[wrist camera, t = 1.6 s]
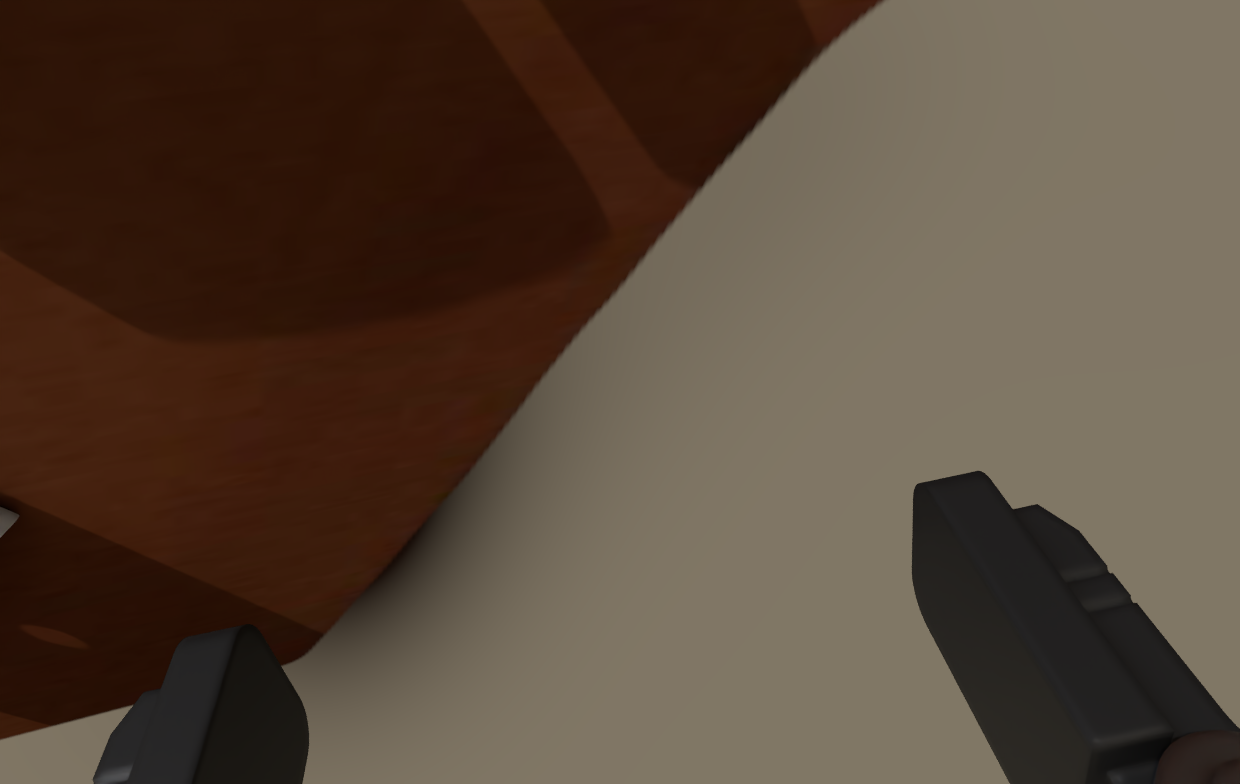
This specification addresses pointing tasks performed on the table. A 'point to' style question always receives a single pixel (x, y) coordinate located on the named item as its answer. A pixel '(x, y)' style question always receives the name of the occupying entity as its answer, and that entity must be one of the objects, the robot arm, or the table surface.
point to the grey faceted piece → (6, 520)
